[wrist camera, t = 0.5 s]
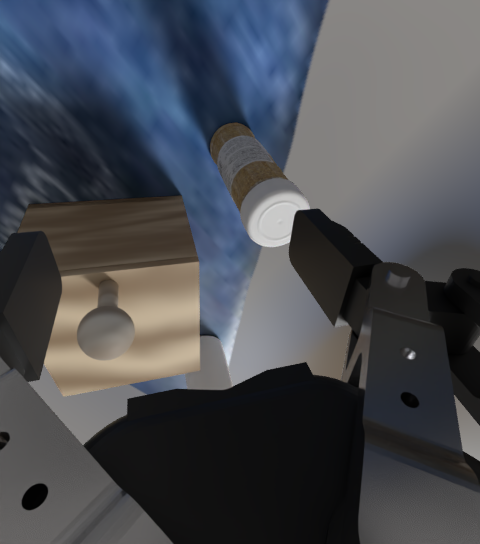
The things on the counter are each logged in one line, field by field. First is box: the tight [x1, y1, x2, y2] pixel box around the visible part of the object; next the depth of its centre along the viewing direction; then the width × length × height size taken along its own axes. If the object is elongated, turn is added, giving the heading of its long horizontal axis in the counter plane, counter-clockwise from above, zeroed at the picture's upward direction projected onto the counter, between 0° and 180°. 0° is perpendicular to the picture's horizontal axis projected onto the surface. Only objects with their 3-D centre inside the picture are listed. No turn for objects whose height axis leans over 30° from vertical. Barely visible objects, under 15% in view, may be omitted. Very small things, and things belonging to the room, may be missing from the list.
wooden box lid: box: [44, 257, 200, 397], centre depth 27 cm, size 16×14×7 cm
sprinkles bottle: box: [210, 123, 310, 247], centre depth 26 cm, size 5×5×13 cm
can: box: [185, 335, 233, 390], centre depth 47 cm, size 6×6×12 cm
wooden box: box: [17, 195, 198, 272], centre depth 33 cm, size 16×14×10 cm
